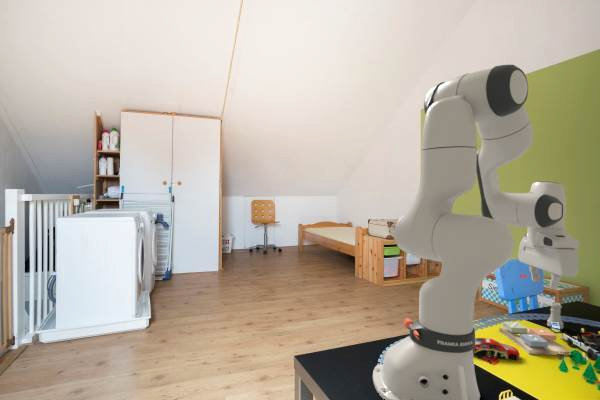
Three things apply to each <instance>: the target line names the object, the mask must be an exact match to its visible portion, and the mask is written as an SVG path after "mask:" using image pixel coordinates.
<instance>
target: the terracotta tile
mask: <svg viewBox="0 0 600 400" xmlns="http://www.w3.org/2000/svg"><path fill="white" fill-rule="evenodd" d="M528 329H529V333H530V334H533V335H538V336H540V337H541V338H543V339H544V340H553V341H557V335H556V334H555V333H553V332H552V331H550V330H549V329H547V328H533V327H532V328H531V327H530V328H528Z"/></svg>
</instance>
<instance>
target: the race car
mask: <svg viewBox="0 0 600 400" xmlns="http://www.w3.org/2000/svg"><path fill="white" fill-rule="evenodd" d="M473 356H477V358H490V357H496V358H495V359H503V360H509V361H514V362H515V361H517V360H519V359H520V351H519V350H518V348H516V347H514V346H512V345H509V344H507V343H502V342H499V341H496V340H495V339H493V338H488V337H487V338H486V337H475V353H474V354H473ZM489 356H490V357H489Z"/></svg>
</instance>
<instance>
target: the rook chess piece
mask: <svg viewBox="0 0 600 400" xmlns="http://www.w3.org/2000/svg"><path fill="white" fill-rule="evenodd" d="M549 306H550V316H549V317H548V319H547V320H546V321H547V323H546V325H547V326H548V327H549V326H550V324H551V322H559V325H560V328H561V329H560V330H563V329H564V325H565V324H564V322H563V320H562V318H561V317H562V316H561V312H562V311H561V309H562V308H563V306H562V304H561V303H560V302H558V301H557V302H556V301H551V302H550V303H549Z"/></svg>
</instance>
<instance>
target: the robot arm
mask: <svg viewBox="0 0 600 400" xmlns="http://www.w3.org/2000/svg"><path fill="white" fill-rule="evenodd" d="M528 95H529V83H528V79H527V75H526V74H525V72H524V71H523V70H522V69H521V68H519V67H518V66H516V65H514V64H501V65H495V66H494V67H493V68H487V69H482V70H479V71H474V72H471V73H470V72H469V73H464V74H462V75H459V76H456V77H454V78H451V79H450V80H447V81H442V82H439V83H438V84H436V85H434V86H433V87H431V88H430V89H429V90H428V91H427V93H426V96H425V98H424V101H423V110H424V114H425V117H424V121H423V129H422V135H421V146H420V147H421V149H420V152H421V154H420V155H421V157H420V159H421V161H420V180H419V187H418V191H417V194H416V196H415V199H414V201H413V202H412V204H411V207H409V209H407V211H406V212H405V213H404V214H403V215H401V216H400V217H399V218H398V220H397V221H396V223H395V227H394V231H393V232H394V233H393V235H394V240H395V244H396V245H397V247H398V248H399V249H400V250H401V251H403V252H405V253H407V254H409V255H412V256H413V257H414V256H415V257H416V258H420V259H425V260H431V261H434V262H440V263H441V269H440V273H439V275H438V276H436V277H433V278H430V279H428V280H426V281H425V282H424V283H423V284H422V285H421V287H420V289H419V293H418V295H419V297H418V298H419V299H418V301H419V302H418V307H419V308H418V318H417V320H416V321H415V322H413V320H412V319H411V318H408V317H407V318H405V319H404V320H403V325H404V327H405V328H406V330H409V335H408V336H406V337H405V338H403V339H402V340H400V341H399V342H396V343H395V344H393V345H392V346H390V347H389V348H387V350H386V352H385V354H384V358H383V362H382V364H377V365H375V367H374V369H373V371H372V381H373V385H374V388H375V390H376V392H377V394H378V393H379V394H378V395H379V396H380V397H381V398H382V400H384V399H385V400H480V398H481V394H480V390H479V387H478V382H477V378H476V377H477V376H476V372H475V371H476V370H475V361H474V355H473V354H474V353H475V338H476V329H475V328H474V317H475V316H474V315H475V314H474V313H475V306H476V305H475V304H476V296H477V292H478V290H479V288H480V287H481V284H482V283H483V281H484V280H485V279H486V278H487V277H488V276H489V275H491V273H493V272H495V271H496V270H499V269H501V268H502V267H504V265H506V264H507V263H508V262H509V261H510V259H511V257H512V255H513V253H514V248H515V247H514V246H515V243H514V242H515V241H514V236H513V234H512V232H511V229H509V227H518V228H520V227H521V228H527V229H526V230H527V233H526V234H524V236H523V237H522V239H521V241H520V242H519V245H518V246H519V248H518V257H517V258H518V260H519V262H520V263H522V264H525V265H528V269H529V273H530V274H531V275H530V276H531V281H532V282H535V283H536V282H537V283H539V282H541V277H542V276H541V275H540V274H539V269H540V270H541V271H546V272H548V273H550V275H549V276H550V277H551V279H550V280H547V287H548V288H550V289H554V290H558V288H559V283H560V281H561V279H562V277H563V278H574V277H576V276H577V275H578V273H579V261H580V259H579V252H578V251H577V249H579V247H580V241H579V240H578V239H576V238H574V237H573V236H572V235H570V234H568V232H566V225H565V221H564V220H565V216H566V214H567V199H566V192H565V187H564V185H563V184H561V183H559V182H555V181H547V180H546V181H536V182H533V183H532V184H531V186H530V190H529V191H528V192H520V193H519V192H506V191H503V190H501V187H500V183H499V175H498V169H499V168H500V167H502V166H503V167H504V166H505V165H507V164H510V163H512V162H514V161H516V160H518V159H519V158H520V157H522V156H523V155H525V153H527V151H528V150H529V149H530V147H531V146H532V143H533V140H534V133H533V132H534V131H533V127H532V123H531V121H530V118H529V114H528V112H527V110H526V107H525V105H524V104H525V103H526V101H527V98H528ZM476 129H477V130H476ZM477 131H478V135H479V138H480V141H481V147H480V148H478V146H477V145H478V144H477V143H478V141H477ZM477 148H478V150H477ZM476 182H477V183H478V189H479V193H480V194H479V195H480V204H481V205H480V211H481V215H480V214H479V215H478V214H466V213H465V214H463V213H452V212H453V206H454V205H455V202H456V201H457V199H458V198H459V197H462V196H463V195H465V194H467V193H468V192H470V191H472V189H473V188H474V187H475V184H476Z"/></svg>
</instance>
